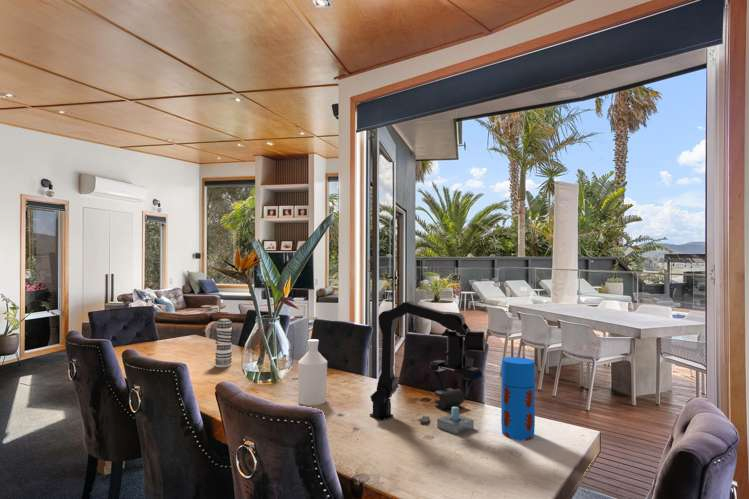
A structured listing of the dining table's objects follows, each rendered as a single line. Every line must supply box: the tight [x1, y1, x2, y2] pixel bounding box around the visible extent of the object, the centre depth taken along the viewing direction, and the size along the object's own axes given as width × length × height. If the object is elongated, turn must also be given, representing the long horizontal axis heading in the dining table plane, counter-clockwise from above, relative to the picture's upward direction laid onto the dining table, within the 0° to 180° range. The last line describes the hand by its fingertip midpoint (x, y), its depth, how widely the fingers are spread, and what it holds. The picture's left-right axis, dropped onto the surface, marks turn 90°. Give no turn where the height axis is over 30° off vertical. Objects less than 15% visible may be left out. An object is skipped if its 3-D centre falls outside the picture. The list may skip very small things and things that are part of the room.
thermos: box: [500, 356, 536, 441], centre depth 154 cm, size 11×11×25 cm
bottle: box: [297, 338, 328, 406], centre depth 187 cm, size 12×12×25 cm
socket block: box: [436, 413, 475, 436], centre depth 159 cm, size 9×9×3 cm
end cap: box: [434, 387, 465, 410], centre depth 181 cm, size 10×7×7 cm
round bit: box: [451, 406, 460, 421], centre depth 159 cm, size 3×3×7 cm
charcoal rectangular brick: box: [419, 415, 430, 425], centre depth 165 cm, size 5×2×2 cm, turn 164°
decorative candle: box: [214, 318, 234, 368], centre depth 247 cm, size 9×9×25 cm
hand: (454, 393), depth 159 cm, fingers open, 9 cm apart
